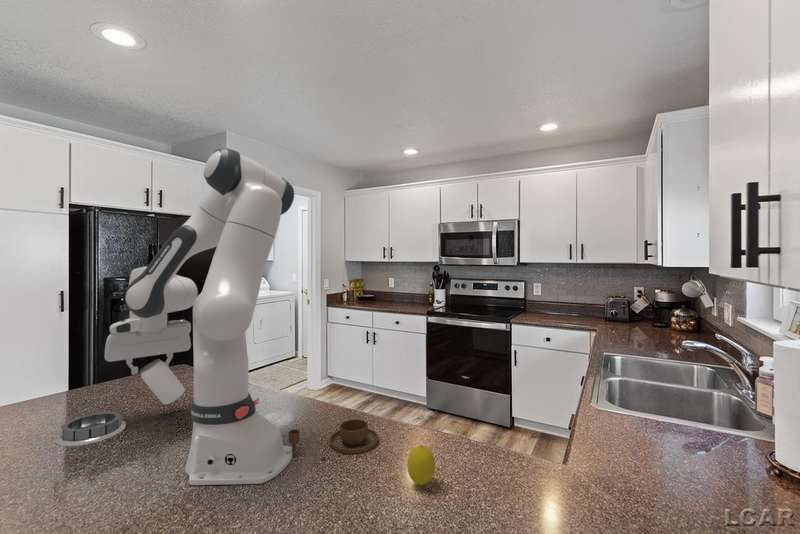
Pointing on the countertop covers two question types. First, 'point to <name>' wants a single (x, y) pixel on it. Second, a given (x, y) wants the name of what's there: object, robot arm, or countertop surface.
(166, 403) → the can
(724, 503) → the countertop surface
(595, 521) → the countertop surface
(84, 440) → the notched rim bowl
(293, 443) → the place setting
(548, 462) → the countertop surface
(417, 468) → the lemon
